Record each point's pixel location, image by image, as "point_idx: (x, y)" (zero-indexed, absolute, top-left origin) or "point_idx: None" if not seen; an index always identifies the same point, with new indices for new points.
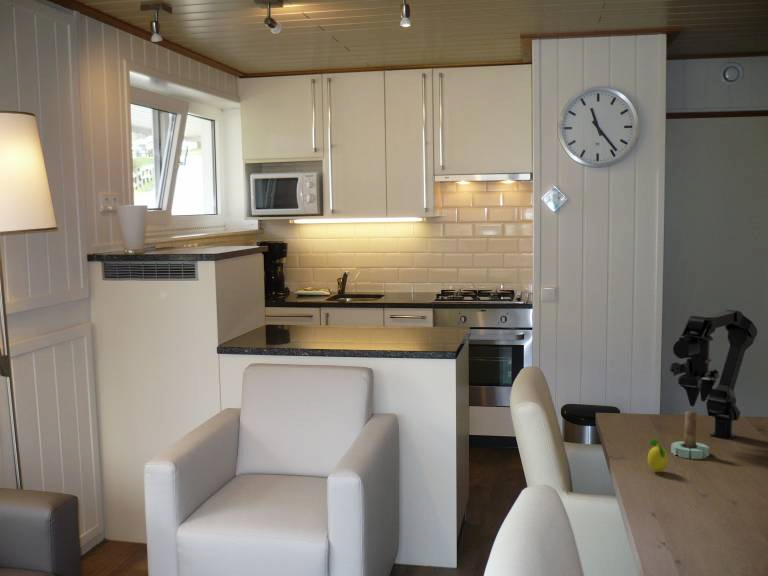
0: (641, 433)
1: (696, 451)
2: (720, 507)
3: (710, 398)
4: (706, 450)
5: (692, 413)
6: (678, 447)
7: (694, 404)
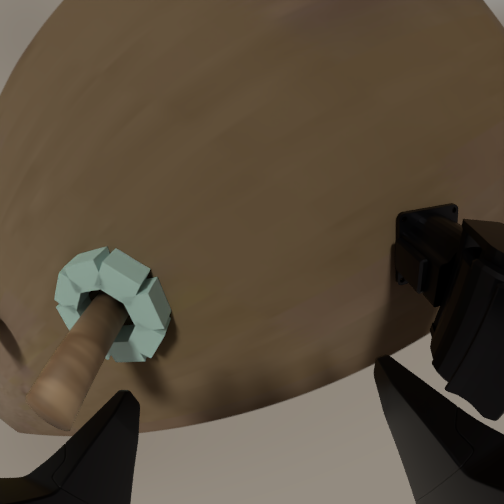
0: (192, 6)
1: None
2: (29, 410)
3: (499, 311)
4: (127, 359)
5: (45, 420)
6: (63, 303)
7: (133, 419)
